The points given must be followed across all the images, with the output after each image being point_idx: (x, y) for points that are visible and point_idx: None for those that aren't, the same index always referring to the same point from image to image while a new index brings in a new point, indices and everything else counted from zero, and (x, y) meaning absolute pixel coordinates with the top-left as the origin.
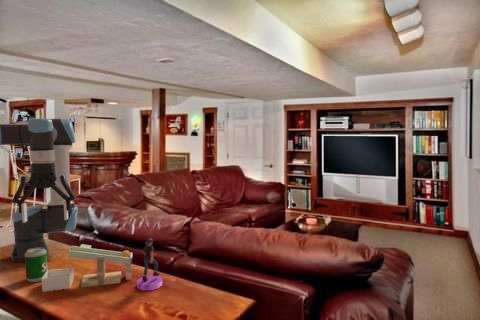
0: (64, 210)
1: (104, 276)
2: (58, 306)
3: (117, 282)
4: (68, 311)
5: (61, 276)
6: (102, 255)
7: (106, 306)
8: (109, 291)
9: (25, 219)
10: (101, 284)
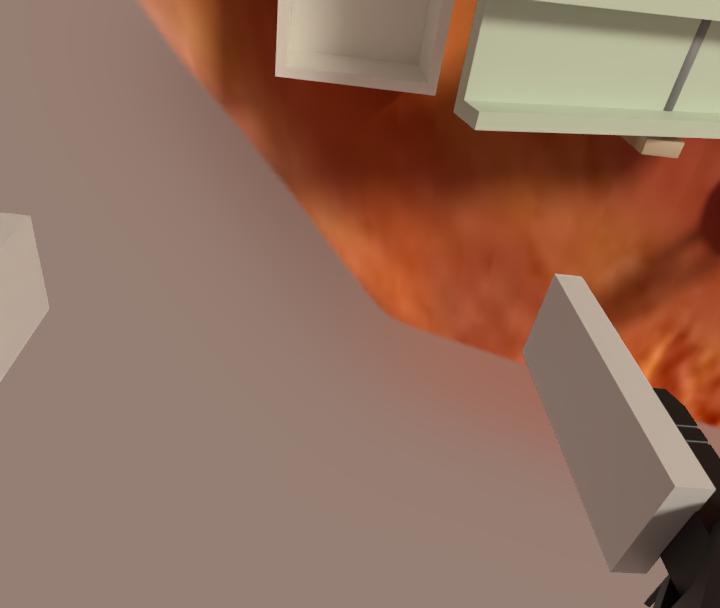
0: (568, 453)
1: None
2: (377, 250)
3: None
4: (415, 301)
5: (391, 88)
6: (687, 135)
7: None
8: (599, 188)
9: (27, 305)
10: None
